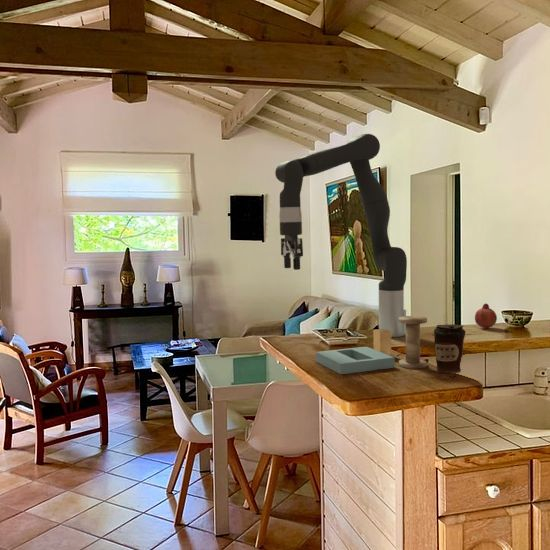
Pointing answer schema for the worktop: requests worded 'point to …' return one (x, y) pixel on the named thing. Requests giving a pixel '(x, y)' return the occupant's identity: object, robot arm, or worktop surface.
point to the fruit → (485, 317)
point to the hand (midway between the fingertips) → (292, 268)
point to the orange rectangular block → (382, 341)
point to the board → (354, 360)
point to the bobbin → (413, 342)
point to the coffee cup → (449, 347)
